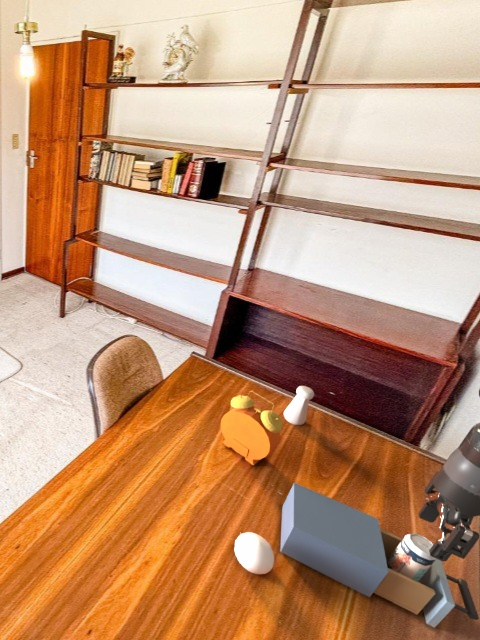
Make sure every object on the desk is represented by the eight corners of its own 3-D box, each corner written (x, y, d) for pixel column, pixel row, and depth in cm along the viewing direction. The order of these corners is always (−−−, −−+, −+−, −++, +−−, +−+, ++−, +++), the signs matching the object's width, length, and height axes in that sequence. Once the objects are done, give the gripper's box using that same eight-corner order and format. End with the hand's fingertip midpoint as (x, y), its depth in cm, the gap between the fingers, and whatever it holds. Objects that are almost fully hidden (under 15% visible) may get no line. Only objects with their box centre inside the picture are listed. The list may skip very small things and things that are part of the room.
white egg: (276, 579, 82) (288, 558, 79) (244, 584, 81) (254, 563, 78) (246, 531, 91) (255, 511, 88) (216, 535, 90) (224, 514, 87)
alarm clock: (270, 463, 108) (295, 408, 100) (259, 473, 105) (283, 417, 97) (225, 431, 118) (244, 378, 110) (213, 440, 115) (231, 386, 106)
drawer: (450, 587, 81) (470, 564, 78) (468, 645, 72) (492, 623, 69) (337, 534, 90) (350, 512, 87) (341, 580, 81) (356, 558, 78)
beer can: (382, 561, 84) (407, 526, 79) (411, 579, 81) (440, 544, 76) (379, 579, 81) (405, 543, 76) (409, 598, 78) (439, 562, 73)
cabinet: (360, 546, 89) (378, 519, 85) (367, 600, 79) (388, 572, 75) (281, 509, 96) (294, 482, 92) (278, 554, 87) (293, 526, 82)
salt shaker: (286, 427, 121) (300, 394, 115) (278, 413, 126) (291, 381, 120) (306, 430, 120) (322, 397, 114) (298, 416, 125) (312, 384, 119)
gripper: (523, 524, 61) (470, 584, 67) (489, 459, 71) (446, 517, 78) (456, 499, 64) (412, 559, 71) (434, 441, 75) (397, 498, 82)
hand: (430, 537), depth 75 cm, fingers open, 8 cm apart
